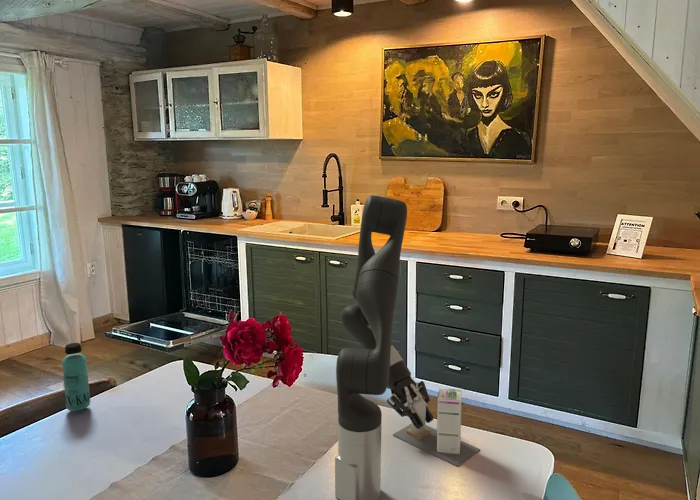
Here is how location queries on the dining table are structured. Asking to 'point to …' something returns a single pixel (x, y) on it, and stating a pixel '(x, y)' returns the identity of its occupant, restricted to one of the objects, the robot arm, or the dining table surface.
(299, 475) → the dining table surface
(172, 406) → the dining table surface
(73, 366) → the beverage bottle
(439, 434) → the syrup box
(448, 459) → the candle tray
